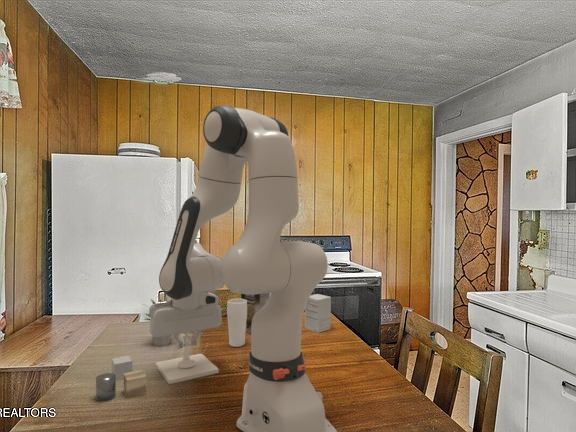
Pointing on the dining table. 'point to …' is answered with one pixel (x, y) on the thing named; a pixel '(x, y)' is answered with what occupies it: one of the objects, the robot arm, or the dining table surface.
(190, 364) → the chess piece
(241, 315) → the drinking glass
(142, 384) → the birch block
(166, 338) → the house plant
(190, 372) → the ceramic tile
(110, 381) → the metal tin
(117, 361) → the grey block
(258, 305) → the coffee box
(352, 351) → the dining table surface
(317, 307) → the supplement box
